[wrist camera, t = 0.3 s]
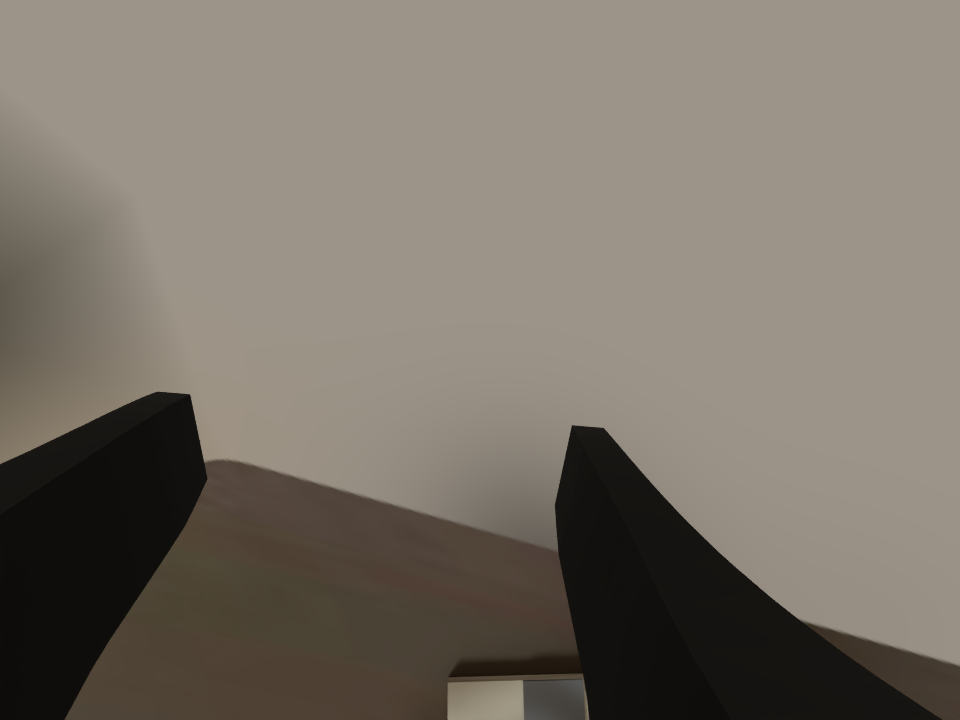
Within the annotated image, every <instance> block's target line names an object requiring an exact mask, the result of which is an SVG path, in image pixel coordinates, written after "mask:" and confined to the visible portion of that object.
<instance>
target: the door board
mask: <svg viewBox="0 0 960 720" xmlns="http://www.w3.org/2000/svg"><path fill="white" fill-rule="evenodd" d="M448 720H589V713H588V704H587V697H586V691H585V684H584V678H583V673H578V674H545V675H511V676H478V677H448Z"/></svg>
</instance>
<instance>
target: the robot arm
mask: <svg viewBox="0 0 960 720" xmlns="http://www.w3.org/2000/svg"><path fill="white" fill-rule="evenodd" d="M206 481H207V474H206V469H205V464H204V460H203V455H202V450H201V445H200V440H199V435H198V430H197V425H196V421H195V416H194V411H193V406H192V401H191V396H190V395H189V394H180V393H167V392H155V393H152V394H150V395H147V396H145V397H142V398H140V399H138V400H135V401H133V402H131V403H129V404H126V405H124V406H122V407H120V408H118V409H116V410H114V411H112V412H110V413H107V414H105V415H103V416H101V417H100V418H97V419H95V420H93V421H91V422H89V423H87V424H85V425H83V426H81V427H78V428H76V429H74V430H72V431H70V432H68V433H66V434H64V435H62V436H60V437H58V438H56V439H54V440H51V441H49V442H47V443H45V444H43V445H41V446H39V447H37V448H35V449H33V450H31V451H28V452H26V453H24V454H22V455H20V456H18V457H15V458H13V459H11V460H8V461H6V462H4V463H2V464H0V720H64V719H65V718H66V716H67V714H68V712H69V710H70V708H71V707H72V705H73V703H74V701H75V699H76V697H77V695H78V694H79V692H80V690H81V688H82V686H83V684H84V682H85V681H86V679H87V677H88V675H89V673H90V671H91V670H92V668H93V666H94V665H95V663H96V661H97V660H98V658H99V656H100V655H101V653H102V652H103V650H104V648H105V647H106V645H107V643H108V642H109V640H110V639H111V637H112V636H113V634H114V633H115V631H116V630H117V628H118V627H119V625H120V624H121V622H122V621H123V619H124V618H125V616H126V615H127V613H128V612H129V610H130V609H131V607H132V606H133V604H134V603H135V601H136V600H137V598H138V597H139V595H140V594H141V592H142V591H143V589H144V588H145V586H146V585H147V583H148V582H149V580H150V579H151V577H152V576H153V574H154V573H155V571H156V570H157V568H158V567H159V565H160V564H161V562H162V561H163V559H164V558H165V556H166V555H167V553H168V551H169V550H170V548H171V547H172V545H173V544H174V542H175V541H176V539H177V538H178V536H179V534H180V533H181V531H182V530H183V528H184V527H185V525H186V523H187V521H188V519H189V517H190V515H191V513H192V511H193V509H194V507H195V505H196V503H197V500H198V498H199V496H200V494H201V492H202V490H203V487H204V485H205V483H206ZM555 513H556V528H557V538H558V552H559V558H560V563H561V569H562V574H563V579H564V584H565V589H566V594H567V599H568V604H569V608H570V613H571V618H572V623H573V628H574V633H575V638H576V643H577V648H578V652H579V657H580V662H581V667H582V672H583V678H584V684H585V691H586V697H587V704H588V713H589V720H942V719H940V718H939V717H937V716H936V715H934V714H933V713H931V712H930V711H928V710H926V709H925V708H923V707H922V706H920V705H919V704H917V703H916V702H914V701H913V700H911V699H910V698H908V697H907V696H905V695H904V694H902V693H901V692H899V691H898V690H896V689H895V688H893V687H892V686H890V685H889V684H887V683H886V682H884V681H883V680H881V679H880V678H878V677H877V676H875V675H874V674H873V673H871V672H870V671H868V670H867V669H865V668H864V667H863V666H861V665H860V664H858V663H857V662H855V661H854V660H853V659H851V658H850V657H848V656H847V655H846V654H844V653H843V652H841V651H840V650H839V649H837V648H836V647H835V646H833V645H832V644H831V643H829V642H828V641H827V640H825V639H824V638H823V637H821V636H820V635H819V634H817V633H816V632H815V631H813V630H812V629H811V628H809V627H808V626H807V625H805V624H804V623H803V622H801V621H800V620H799V619H797V618H796V617H795V616H793V615H792V614H791V613H790V612H788V611H787V610H786V609H785V608H783V607H782V606H781V605H780V604H778V603H777V602H775V600H773V599H772V598H771V597H770V596H768V595H767V594H766V593H765V592H764V591H762V590H761V589H760V588H759V587H758V586H757V585H756V584H754V583H753V582H752V581H751V580H750V579H749V578H747V577H746V576H745V575H744V574H743V573H742V572H740V571H739V570H738V569H737V568H736V567H734V566H733V565H732V564H731V563H730V562H729V561H728V560H727V559H726V558H725V557H723V556H722V555H721V554H720V553H719V552H718V551H717V550H716V549H715V548H714V547H713V546H712V545H711V544H710V543H709V542H708V541H707V540H705V539H704V538H703V537H702V536H701V535H700V534H699V533H698V532H697V531H696V530H695V529H694V528H693V527H692V526H691V525H690V524H689V523H688V522H687V521H686V520H685V519H684V518H683V517H682V516H681V515H680V514H679V513H678V512H677V511H676V509H675V508H674V507H673V506H672V505H671V504H670V503H669V502H668V501H667V500H666V499H665V498H664V497H663V496H662V494H661V493H660V492H659V491H658V490H657V489H656V488H655V487H654V486H653V485H652V484H651V482H650V481H649V480H648V479H647V478H646V477H645V475H644V474H643V473H642V472H641V471H640V470H639V469H638V467H637V466H636V465H635V464H634V463H633V462H632V461H631V459H630V458H629V457H628V456H627V455H626V453H625V452H624V451H623V450H622V449H621V448H620V446H619V445H618V444H617V443H616V442H615V441H614V439H613V438H612V437H611V436H610V435H609V433H608V432H607V431H606V430H605V429H604V428H598V427H597V428H596V427H584V426H572V428H571V433H570V437H569V442H568V447H567V451H566V456H565V460H564V465H563V470H562V474H561V479H560V484H559V489H558V493H557V498H556V502H555Z"/></svg>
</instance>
